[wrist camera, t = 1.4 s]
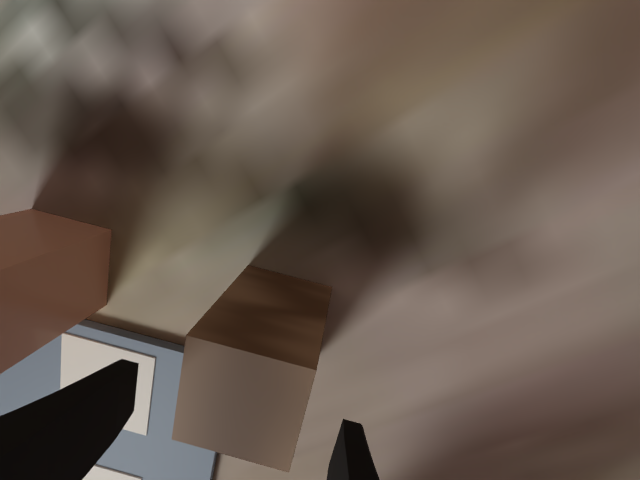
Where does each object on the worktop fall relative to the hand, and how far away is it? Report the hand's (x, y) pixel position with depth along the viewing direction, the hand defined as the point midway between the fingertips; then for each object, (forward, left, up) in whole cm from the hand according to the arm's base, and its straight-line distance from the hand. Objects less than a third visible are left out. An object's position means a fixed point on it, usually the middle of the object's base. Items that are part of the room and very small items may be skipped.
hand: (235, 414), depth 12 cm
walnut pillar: (0, 0, -7) cm, 7 cm away
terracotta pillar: (+12, 0, -7) cm, 14 cm away
